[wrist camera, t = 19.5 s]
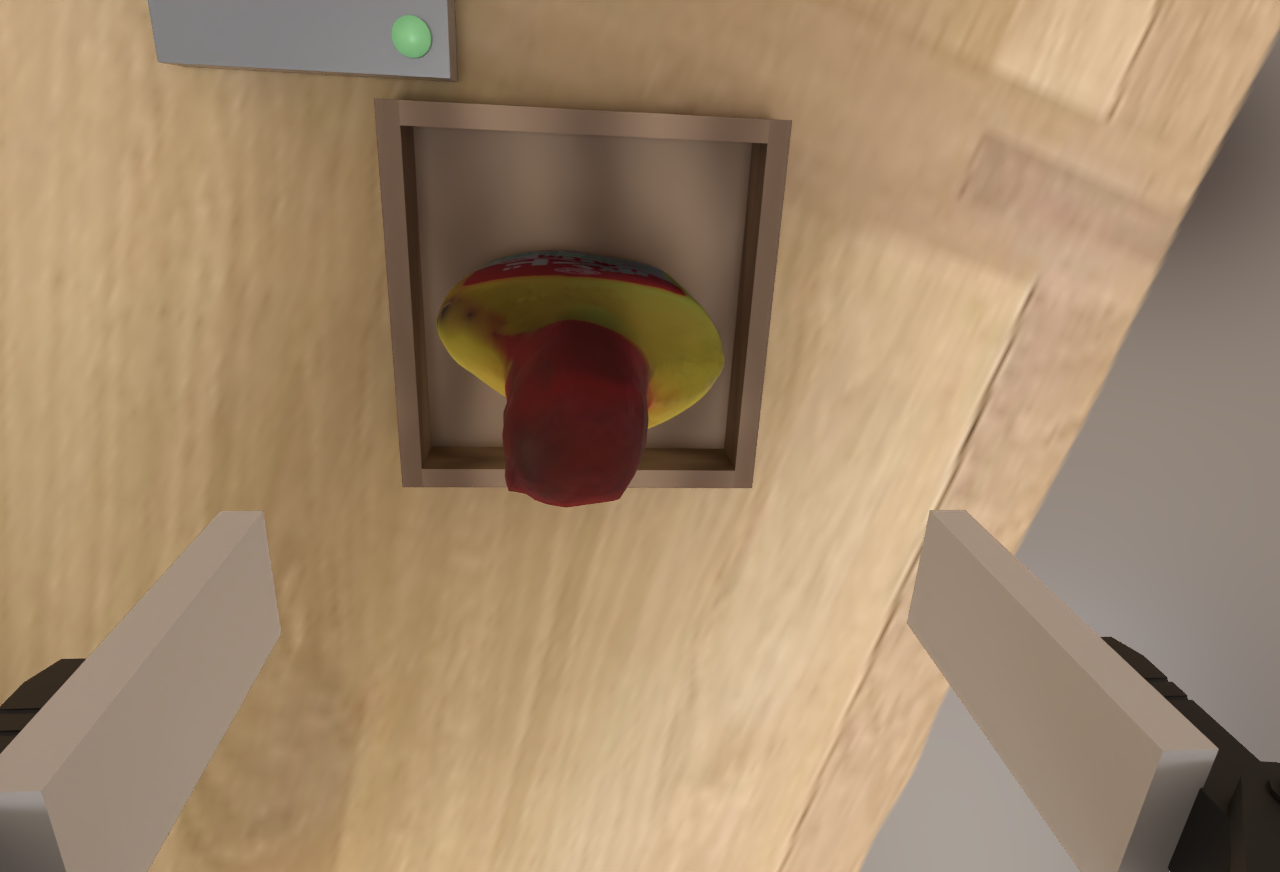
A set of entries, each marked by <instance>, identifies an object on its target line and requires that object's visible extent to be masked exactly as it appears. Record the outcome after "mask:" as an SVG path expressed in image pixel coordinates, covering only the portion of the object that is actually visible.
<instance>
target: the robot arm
mask: <svg viewBox="0 0 1280 872" xmlns="http://www.w3.org/2000/svg"><path fill="white" fill-rule="evenodd" d="M907 624H908V625H909V627H910V628H911V630H912V631H913V633H914V634H915V635H916V637H917V638H918V640H919V641H920V643H921V644H922V646H923V647H924V648H925V650H926V651H927V653H928V654H929V656H930V657H931V658H932V660H933V661H934V663H935V664H936V666H937V667H938V668H939V670H940V671H941V673H942V674H943V676H944V677H945V678H946V680H947V681H948V683H949V684H950V686H951V687H952V688H953V690H954V691H955V693H956V694H957V696H958V697H959V698H960V700H961V701H962V703H963V704H964V706H965V707H966V708H967V710H968V711H969V713H970V714H971V716H972V717H973V718H974V720H975V721H976V723H977V724H978V726H979V727H980V728H981V730H982V731H983V733H984V734H985V736H986V737H987V739H988V740H989V741H990V743H991V744H992V746H993V747H994V749H995V750H996V751H997V753H998V754H999V756H1000V757H1001V759H1002V760H1003V761H1004V763H1005V764H1006V766H1007V767H1008V769H1009V770H1010V771H1011V773H1012V774H1013V776H1014V777H1015V778H1016V780H1017V781H1018V783H1019V784H1020V786H1021V787H1022V789H1023V790H1024V791H1025V793H1026V794H1027V796H1028V797H1029V799H1030V800H1031V801H1032V803H1033V804H1034V806H1035V807H1036V809H1037V810H1038V811H1039V813H1040V814H1041V816H1042V817H1043V818H1044V820H1045V821H1046V823H1047V824H1048V826H1049V827H1050V828H1051V830H1052V832H1053V833H1054V834H1055V836H1056V837H1057V839H1058V840H1059V842H1060V843H1061V844H1062V846H1063V847H1064V849H1065V850H1066V852H1067V853H1068V854H1069V856H1070V857H1071V859H1072V860H1073V862H1074V863H1075V864H1076V866H1077V867H1078V869H1079V870H1080V872H1169V871H1170V872H1280V763H1277V762H1260V761H1259V760H1258V759H1257V758H1256V757H1255V756H1254V755H1253V754H1251V753H1250V752H1249V751H1248V750H1247V749H1246V748H1245V747H1244V746H1243V745H1242V744H1240V743H1239V742H1238V741H1237V740H1236V739H1235V738H1234V737H1233V736H1232V735H1230V734H1229V733H1228V732H1227V731H1226V730H1225V729H1224V728H1223V727H1222V726H1220V725H1219V724H1218V723H1217V722H1216V721H1215V720H1214V719H1213V718H1212V717H1211V716H1210V715H1208V714H1207V713H1206V712H1205V711H1204V710H1203V709H1202V708H1201V707H1200V706H1198V705H1197V704H1196V703H1195V702H1194V701H1193V700H1188V698H1187V695H1186V694H1185V693H1184V692H1183V691H1182V690H1181V689H1179V688H1178V687H1177V686H1176V685H1175V684H1174V683H1173V682H1168V680H1167V677H1166V676H1165V675H1164V674H1163V673H1162V672H1161V671H1160V670H1158V669H1157V668H1156V667H1155V666H1154V665H1153V664H1152V663H1151V662H1150V661H1149V660H1148V659H1146V658H1145V657H1144V656H1143V655H1141V654H1139V653H1138V652H1136V651H1134V650H1133V649H1131V648H1129V647H1127V646H1126V645H1124V644H1122V643H1121V642H1119V641H1117V640H1116V639H1114V638H1112V637H1099V636H1098V635H1097V634H1096V633H1095V632H1094V631H1093V630H1092V629H1091V628H1090V627H1089V626H1087V624H1086V623H1084V622H1083V621H1082V620H1081V619H1080V618H1079V617H1078V616H1077V615H1076V614H1075V613H1074V612H1073V611H1072V610H1071V609H1070V608H1069V607H1067V606H1066V605H1065V604H1064V603H1063V602H1062V601H1061V600H1060V599H1059V598H1058V597H1057V596H1056V595H1055V594H1054V593H1053V592H1052V591H1050V589H1048V588H1047V587H1046V586H1045V585H1044V584H1043V583H1042V582H1041V581H1040V580H1039V579H1038V578H1037V577H1036V576H1035V575H1034V574H1032V573H1031V572H1030V571H1029V570H1028V569H1027V568H1026V567H1025V566H1024V565H1023V564H1022V563H1021V562H1020V561H1019V560H1017V558H1016V557H1014V556H1013V555H1012V554H1011V553H1010V552H1009V551H1008V550H1007V549H1006V548H1005V547H1004V546H1003V545H1002V544H1001V543H1000V542H999V541H997V540H996V539H995V538H994V537H993V536H992V535H991V534H990V533H989V532H988V531H987V530H986V529H985V528H984V527H983V526H982V525H980V524H979V523H978V522H977V521H976V520H975V519H974V518H973V517H972V516H971V515H970V514H969V513H968V512H967V511H966V510H930V513H929V518H928V522H927V527H926V532H925V537H924V542H923V547H922V552H921V557H920V562H919V566H918V571H917V576H916V581H915V586H914V591H913V596H912V601H911V606H910V610H909V615H908V620H907ZM280 635H281V628H280V621H279V614H278V607H277V601H276V594H275V587H274V580H273V574H272V567H271V560H270V553H269V547H268V540H267V533H266V526H265V519H264V513H263V511H220V512H219V513H218V514H217V515H216V516H215V518H214V519H213V520H212V521H211V522H210V523H209V524H208V525H207V526H206V528H205V529H204V530H203V531H202V532H201V533H200V534H199V535H198V536H197V537H196V539H195V540H194V541H193V542H192V543H191V544H190V545H189V546H188V547H187V548H186V550H185V551H184V552H183V553H182V554H181V555H180V556H179V557H178V558H177V560H176V561H175V562H174V563H173V564H172V565H171V566H170V567H169V568H168V569H167V571H166V572H165V573H164V574H163V575H162V576H161V577H160V578H159V579H158V580H157V582H156V583H155V584H154V585H153V586H152V587H151V588H150V589H149V590H148V592H147V593H146V594H145V595H144V596H143V597H142V598H141V599H140V600H139V601H138V603H137V604H136V605H135V606H134V607H133V608H132V609H131V610H130V611H129V612H128V614H127V615H126V616H125V617H124V618H123V619H122V620H121V621H120V622H119V624H118V625H117V626H116V627H115V628H114V629H113V630H112V631H111V632H110V633H109V635H108V636H107V637H106V638H105V639H104V640H103V641H102V642H101V643H100V644H99V646H98V647H97V648H96V649H95V650H94V651H93V652H92V653H91V654H90V656H89V657H88V658H87V659H61V660H59V661H58V662H56V663H54V664H53V665H51V666H50V667H48V668H46V669H45V670H43V671H41V672H40V673H38V674H37V675H35V676H33V677H32V678H30V679H29V680H27V681H25V682H24V683H23V684H22V685H21V686H20V687H19V688H18V689H17V690H16V691H15V692H14V693H13V694H12V695H11V696H10V697H9V698H8V699H7V700H6V701H5V702H4V703H3V704H2V705H1V706H0V872H147V871H148V869H149V868H150V866H151V864H152V862H153V861H154V859H155V857H156V855H157V853H158V852H159V850H160V848H161V846H162V845H163V843H164V841H165V839H166V837H167V836H168V834H169V832H170V830H171V829H172V827H173V825H174V823H175V822H176V820H177V818H178V816H179V814H180V813H181V811H182V809H183V807H184V806H185V804H186V802H187V800H188V798H189V797H190V795H191V793H192V791H193V790H194V788H195V786H196V784H197V782H198V781H199V779H200V777H201V775H202V774H203V772H204V770H205V768H206V766H207V765H208V763H209V761H210V759H211V758H212V756H213V754H214V752H215V750H216V749H217V747H218V745H219V743H220V742H221V740H222V738H223V736H224V735H225V733H226V731H227V729H228V727H229V726H230V724H231V722H232V720H233V719H234V717H235V715H236V713H237V711H238V710H239V708H240V706H241V704H242V703H243V701H244V699H245V697H246V695H247V694H248V692H249V690H250V688H251V687H252V685H253V683H254V681H255V679H256V678H257V676H258V674H259V672H260V671H261V669H262V667H263V665H264V664H265V662H266V660H267V658H268V656H269V655H270V653H271V651H272V649H273V648H274V646H275V644H276V642H277V640H278V639H279V637H280Z"/></svg>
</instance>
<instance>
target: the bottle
mask: <svg viewBox="0 0 1280 872" xmlns="http://www.w3.org/2000/svg"><path fill="white" fill-rule="evenodd" d="M436 326H437V331H438V335H439V337H440V339H441V341H442V343H443V344H444V346H445V348H446V349H447V351H448V352H449V354H450V355H451V356H452V358H453V359H454V360H455V361H456V362H457V363H458V364H459V365H461V366H462V367H463V368H465V369H466V370H468V371H469V372H471V373H472V374H474V375H475V376H476V377H477V378H479V379H480V380H481V381H483V382H484V383H486V384H487V385H488V386H490V387H491V388H493V389H494V390H496V391H497V392H499V393H500V394H501V395H503V396H505V397H506V398H507V404H506V406H505V409H504V412H503V424H504V426H503V432H502V439H503V448H504V453H505V458H506V468H505V480H506V485H507V487H508V490H509V491H514V492H519V493H524V494H527V495H529V496H530V497H532V498H533V499H534V500H537V501H540V502H542V503H545V504H550V505H554V506H561V507H573V506H580V505H586V504H594V503H601V502H608V501H614V500H617V499H620V497H621V496H622V494H623V493H624V491H625V490H626V488H627V487H628V485H629V484H630V482H631V480H632V479H633V477H634V476H635V473H636V471H637V469H638V467H639V464H640V461H641V458H642V455H643V452H644V449H645V446H646V442H647V429H649V428H651V427H654V426H656V425H658V424H661V423H663V422H665V421H667V420H669V419H671V418H673V417H674V416H676V415H678V414H680V413H681V412H683V411H684V410H686V409H687V408H689V407H691V406H692V405H693V404H695V403H696V402H697V401H698V400H700V399H701V398H702V397H703V396H704V395H705V394H706V393H707V392H708V391H709V389H710V388H711V387H712V385H713V384H714V382H715V381H716V379H717V378H718V376H719V375H720V373H721V371H722V369H723V367H724V355H723V349H722V342H721V338H720V336H719V334H718V331H717V329H716V328H715V326H714V324H713V323H712V321H711V319H710V317H709V316H708V314H707V313H706V311H705V310H704V308H703V307H702V306H701V305H700V304H699V303H698V302H697V301H696V300H695V299H694V298H693V297H692V296H691V295H690V294H689V293H687V291H686V290H685V289H684V288H683V287H682V286H681V285H679V284H678V283H677V282H676V281H675V280H674V279H673V278H672V277H670V276H669V275H668V274H667V273H665V272H663V271H662V270H660V269H658V268H656V267H653V266H650V265H647V264H642V263H638V262H634V261H630V260H625V259H621V258H615V257H604V256H598V255H593V254H588V253H582V252H575V251H568V250H544V251H533V252H525V253H520V254H515V255H510V256H507V257H504V258H501V259H498V260H495V261H492V262H489V263H487V264H486V265H484V266H482V267H480V268H479V269H477V270H475V271H474V272H472V273H471V274H469V275H467V276H465V277H464V278H463V279H462V280H460V281H459V282H458V283H457V284H456V285H455V286H454V287H453V288H452V289H451V290H450V291H449V292H448V294H447V295H446V297H445V299H444V301H443V303H442V305H441V307H440V310H439V313H438V315H437V320H436Z"/></svg>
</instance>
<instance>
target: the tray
mask: <svg viewBox="0 0 1280 872" xmlns="http://www.w3.org/2000/svg"><path fill="white" fill-rule="evenodd" d="M374 104H375V118H376V132H377V145H378V159H379V172H380V186H381V200H382V213H383V227H384V241H385V254H386V268H387V281H388V295H389V309H390V322H391V336H392V350H393V363H394V377H395V390H396V404H397V418H398V431H399V445H400V459H401V472H402V486H403V487H507V485H506V480H505V468H506V458H505V453H504V448H503V439H502V432H503V426H504V424H503V412H504V409H505V406H506V404H507V398H506V397H505V396H503V395H501V394H500V393H499V392H497V391H496V390H494V389H493V388H491V387H490V386H488V385H487V384H486V383H484V382H483V381H481V380H480V379H479V378H477V377H476V376H475V375H474V374H472V373H471V372H469V371H468V370H466V369H465V368H463V367H462V366H461V365H459V364H458V363H457V362H456V361H455V360H454V359H453V358H452V356H451V355H450V354H449V352H448V351H447V349H446V348H445V346H444V344H443V343H442V341H441V339H440V337H439V335H438V331H437V326H436V320H437V315H438V313H439V310H440V307H441V305H442V303H443V301H444V299H445V297H446V295H447V294H448V292H449V291H450V290H451V289H452V288H453V287H454V286H455V285H456V284H457V283H458V282H459V281H460V280H462V279H463V278H464V277H465V276H467V275H469V274H471V273H472V272H474V271H475V270H477V269H479V268H480V267H482V266H484V265H486V264H487V263H489V262H492V261H495V260H498V259H501V258H504V257H507V256H510V255H515V254H520V253H525V252H533V251H544V250H568V251H575V252H582V253H588V254H593V255H598V256H604V257H615V258H621V259H625V260H630V261H634V262H638V263H642V264H647V265H650V266H653V267H656V268H658V269H660V270H662V271H663V272H665V273H667V274H668V275H669V276H670V277H672V278H673V279H674V280H675V281H676V282H677V283H678V284H679V285H681V286H682V287H683V288H684V289H685V290H686V291H687V293H689V294H690V295H691V296H692V297H693V298H694V299H695V300H696V301H697V302H698V303H699V304H700V305H701V306H702V307H703V308H704V310H705V311H706V313H707V314H708V316H709V317H710V319H711V321H712V323H713V324H714V326H715V328H716V329H717V331H718V334H719V336H720V338H721V342H722V349H723V355H724V367H723V369H722V371H721V373H720V375H719V376H718V378H717V379H716V381H715V382H714V384H713V385H712V387H711V388H710V389H709V391H708V392H707V393H706V394H705V395H704V396H703V397H702V398H701V399H700V400H698V401H697V402H696V403H695V404H693V405H692V406H691V407H689V408H687V409H686V410H684V411H683V412H681V413H680V414H678V415H676V416H674V417H673V418H671V419H669V420H667V421H665V422H663V423H661V424H658V425H656V426H654V427H651V428H649V429H647V442H646V446H645V449H644V452H643V455H642V458H641V461H640V464H639V467H638V469H637V471H636V473H635V476H634V477H633V479H632V480H631V482H630V484H629V485H628V487H627V488H752V483H753V473H754V464H755V455H756V446H757V437H758V428H759V419H760V409H761V400H762V391H763V382H764V373H765V364H766V355H767V345H768V336H769V327H770V318H771V309H772V300H773V291H774V281H775V272H776V263H777V254H778V245H779V236H780V227H781V217H782V208H783V199H784V190H785V181H786V172H787V163H788V153H789V144H790V135H791V126H792V120H774V119H755V118H736V117H717V116H698V115H679V114H659V113H640V112H621V111H602V110H583V109H564V108H545V107H526V106H507V105H488V104H469V103H450V102H431V101H412V100H393V99H374Z"/></svg>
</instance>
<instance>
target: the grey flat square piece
mask: <svg viewBox="0 0 1280 872" xmlns="http://www.w3.org/2000/svg"><path fill="white" fill-rule="evenodd" d="M148 4H149V10H150V16H151V23H152V29H153V35H154V41H155V47H156V53H157V59H158V62H160V63H166V64H172V65H178V66H184V67H198V68H217V69H235V70H253V71H271V72H289V73H307V74H325V75H343V76H361V77H380V78H398V79H416V80H434V81H452V82H458V78H457V51H456V24H455V0H148Z"/></svg>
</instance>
